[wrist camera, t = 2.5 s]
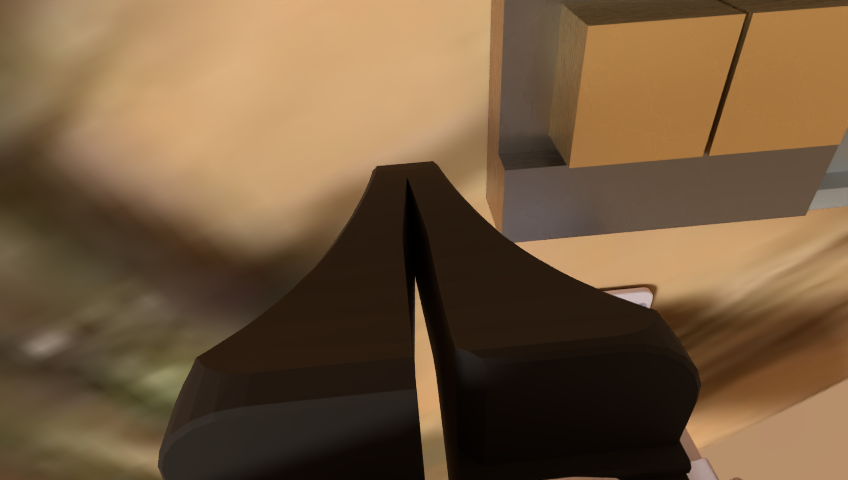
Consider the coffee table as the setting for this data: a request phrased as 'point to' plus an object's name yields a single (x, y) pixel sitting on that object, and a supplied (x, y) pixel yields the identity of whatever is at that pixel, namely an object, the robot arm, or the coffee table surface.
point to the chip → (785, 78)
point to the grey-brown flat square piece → (618, 183)
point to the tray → (834, 180)
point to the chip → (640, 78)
